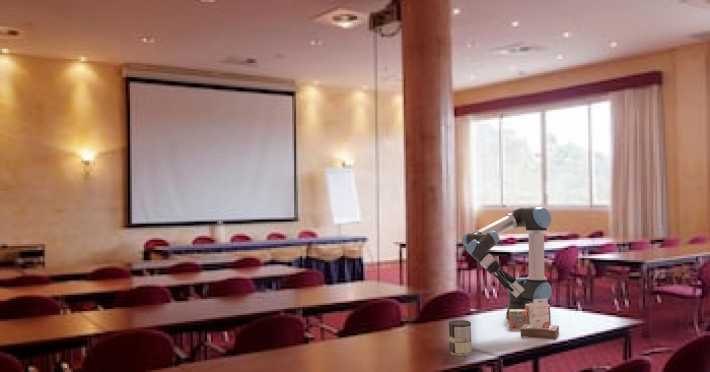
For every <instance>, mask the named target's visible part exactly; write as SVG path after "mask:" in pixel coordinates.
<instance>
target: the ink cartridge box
mask: <svg viewBox="0 0 710 372" xmlns="http://www.w3.org/2000/svg"><path fill="white" fill-rule="evenodd" d="M540 300H541V301H543V302H538V301H540ZM548 301H549V299H548V300H547V298H545V299H534V300H533V302H532V303H529V315H530V327H532V328H544V327H549V311H548V304H549V302H548Z"/></svg>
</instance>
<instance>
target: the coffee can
mask: <svg viewBox="0 0 710 372" xmlns="http://www.w3.org/2000/svg"><path fill="white" fill-rule="evenodd" d="M448 334H449V337H448V338H449V354H450V355H453V356H469V355H472V353H473V350H472V349H473V348H472V347H473V345H472V323H471V321H469V320H464V319H463V320H461V319H459V320H456V319H455V320H450V321H448Z"/></svg>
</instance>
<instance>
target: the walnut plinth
mask: <svg viewBox="0 0 710 372" xmlns="http://www.w3.org/2000/svg"><path fill="white" fill-rule="evenodd" d="M559 327H560V325H557V324H556V325H549V327H544V328H532V327H530V324H525V325H524V326H523V327H522V328H520V338H532V339H533V338H538V339H553V340H556V339H557V338H558V336H559V334H560V328H559Z"/></svg>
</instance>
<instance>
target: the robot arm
mask: <svg viewBox="0 0 710 372" xmlns="http://www.w3.org/2000/svg"><path fill="white" fill-rule="evenodd" d="M551 223H552V216H551V213H550V211H548V209H547V208H546V207H542V206H541V207H540V206H529V207H525V206H524V207H520V208H516V209H514V210H512V211H510V212H507V213H506V214H504V215H503V217H502V218H500V219H497V220H496V221H494V222H492V223H490V224H488V225H486V226H483V227H481V228H480V229H477V230H476V231H474V232H472V233H471V232H470V233H469V232H468V233H464V234H463V235H462V237H461V242H462V244H463V246H465V250H466V252H467V253H468V254H470V255H469V256H471V257H472V258H473V259H475V260H476V261H477V262H478V263H479V265H480V267H483V268H484V269H486V271H487V272H488V273H489V275H492V274H493V276H494V277H495V278H496V279H497V280H498V281H499V283H500V284H501V286H503V289H505V290H506V289H507V291H508V292H507V293H508V294H507V295H508V296H507V297H508V306H507V310H506V313H505V314H506V315H505V317H506V319H509V309H525V304H530V302H532V303H533V300H534V299H545V298H547V300H548V301H549V300H550V299H551V296H552V294H553V292H552V291H553V289H552V286H551V284H550V283H548V278H547V277H546V276H545V233H547V231H548V227H550V225H551ZM517 228H525V231H526V233H527V234H528V276H526V277H516V278H515V277H513V276H512V275H511V274H509V273H508V272H507V271H506V270H505V269H503V268H502V267H501V268H500V266H501V263H500V262H499V261H498V260H497V259H496V258H495V257H494V256H493V255H492V254H491V253H490V252H489V251H491V249H492V248H494V247H495V246H496V245H497V244H498V243H499V242H500V236H499V235H501V234H503V233H505V232H507V231H509V230H514V229H517ZM538 302H543V301H541V300H540V301H538Z"/></svg>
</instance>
